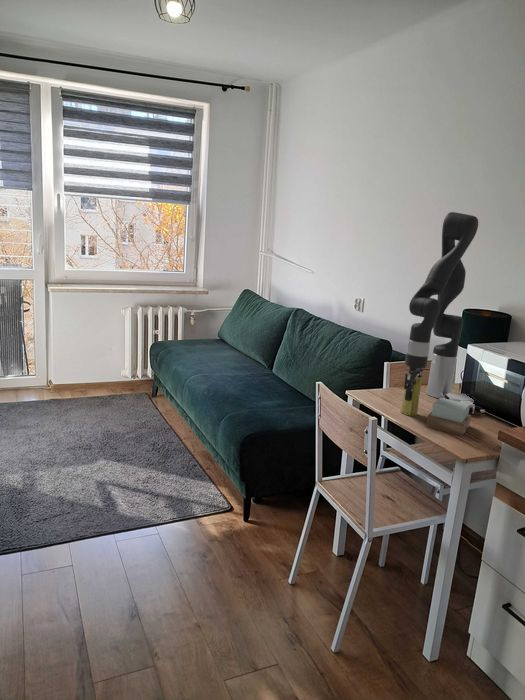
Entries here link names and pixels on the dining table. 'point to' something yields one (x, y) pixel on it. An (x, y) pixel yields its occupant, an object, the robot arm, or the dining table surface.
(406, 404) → the vase
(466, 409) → the top brick
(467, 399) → the robot toy
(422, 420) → the dining table surface
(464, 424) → the bottom brick
